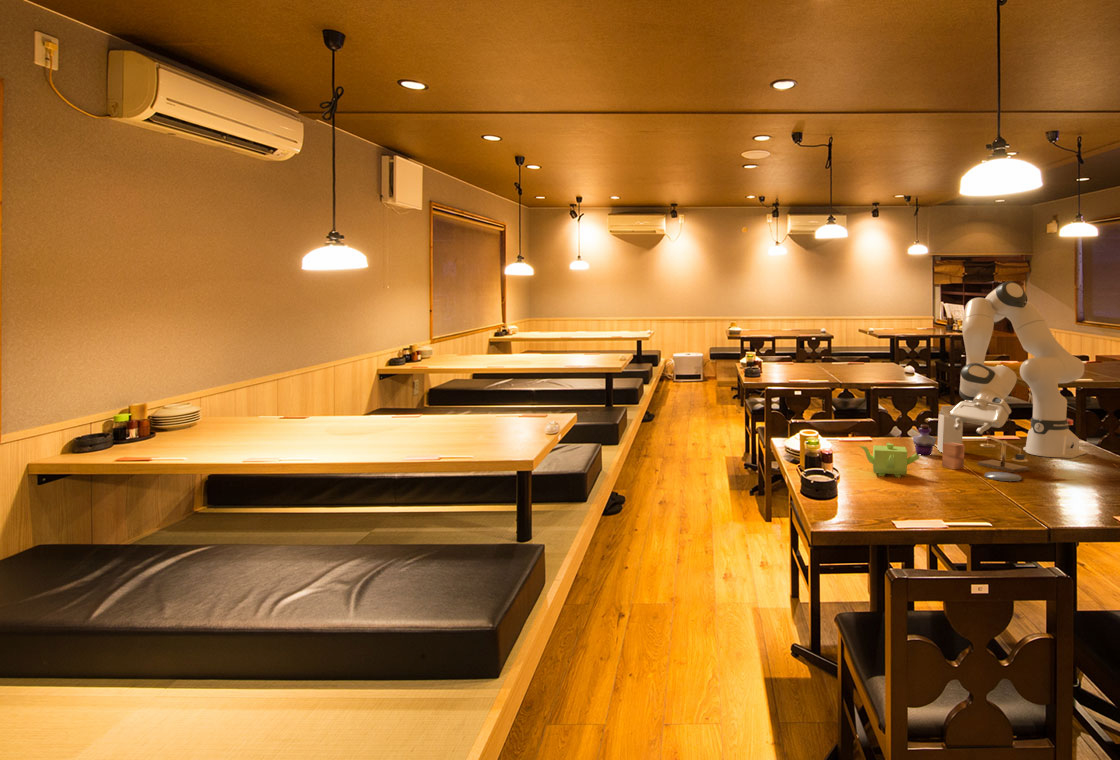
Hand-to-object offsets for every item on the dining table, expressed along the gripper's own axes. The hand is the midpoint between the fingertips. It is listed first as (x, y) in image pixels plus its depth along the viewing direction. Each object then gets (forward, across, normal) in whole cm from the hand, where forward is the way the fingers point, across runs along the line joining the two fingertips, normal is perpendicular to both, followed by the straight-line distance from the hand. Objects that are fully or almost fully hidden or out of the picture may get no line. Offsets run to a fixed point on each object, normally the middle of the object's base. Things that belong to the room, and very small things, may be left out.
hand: (967, 430), depth 272 cm
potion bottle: (+8, -20, +11) cm, 24 cm away
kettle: (+35, -2, -16) cm, 38 cm away
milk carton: (0, -18, +19) cm, 26 cm away
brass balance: (+3, +9, +15) cm, 18 cm away
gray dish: (+13, +19, +5) cm, 24 cm away
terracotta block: (+15, +1, +4) cm, 15 cm away
